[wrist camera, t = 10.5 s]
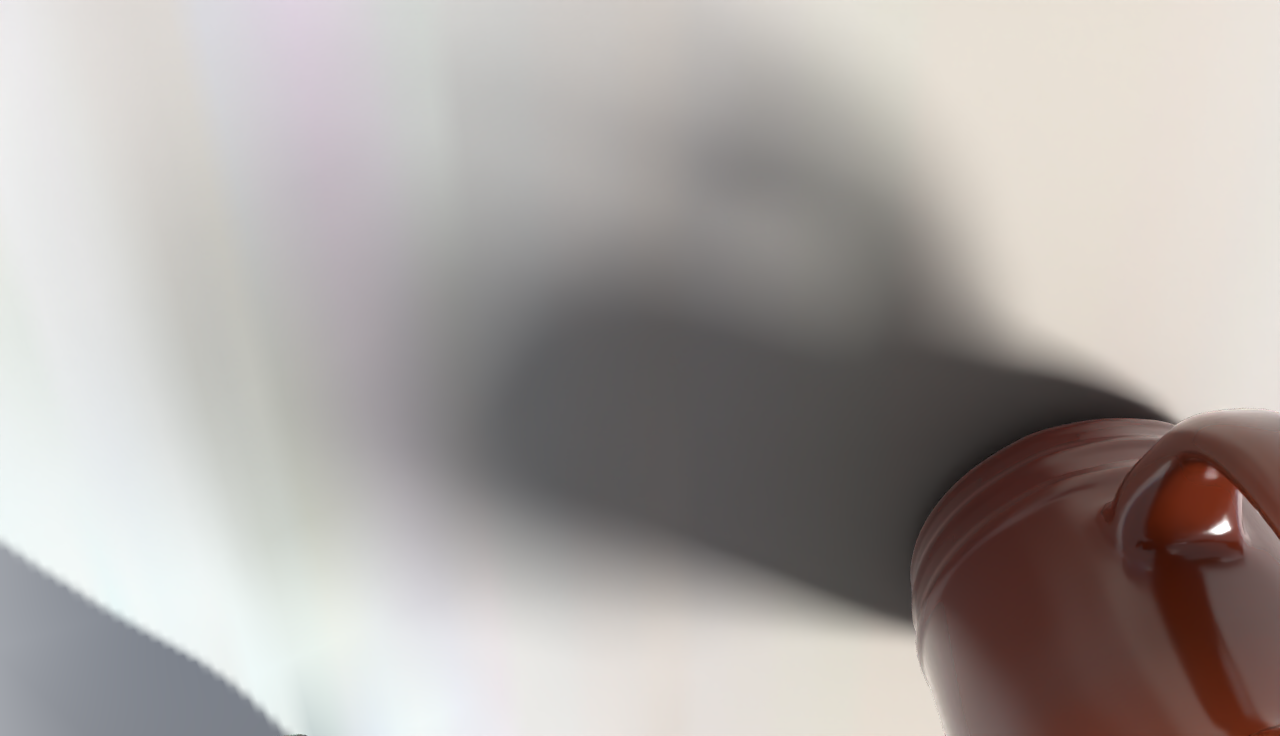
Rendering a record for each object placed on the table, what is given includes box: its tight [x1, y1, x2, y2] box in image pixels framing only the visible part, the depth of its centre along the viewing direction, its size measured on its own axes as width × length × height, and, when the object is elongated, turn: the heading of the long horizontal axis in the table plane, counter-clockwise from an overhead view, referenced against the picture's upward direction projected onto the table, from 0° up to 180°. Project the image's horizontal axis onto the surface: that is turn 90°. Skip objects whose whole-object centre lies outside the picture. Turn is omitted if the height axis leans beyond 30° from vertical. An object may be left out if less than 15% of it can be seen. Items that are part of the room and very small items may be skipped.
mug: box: [910, 408, 1280, 736], centre depth 21 cm, size 12×9×10 cm
